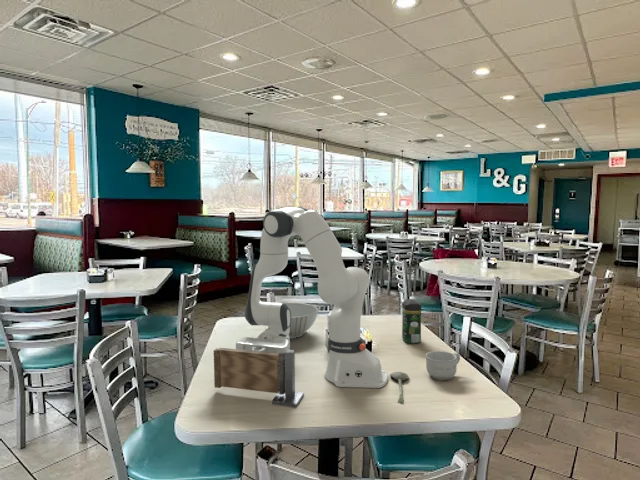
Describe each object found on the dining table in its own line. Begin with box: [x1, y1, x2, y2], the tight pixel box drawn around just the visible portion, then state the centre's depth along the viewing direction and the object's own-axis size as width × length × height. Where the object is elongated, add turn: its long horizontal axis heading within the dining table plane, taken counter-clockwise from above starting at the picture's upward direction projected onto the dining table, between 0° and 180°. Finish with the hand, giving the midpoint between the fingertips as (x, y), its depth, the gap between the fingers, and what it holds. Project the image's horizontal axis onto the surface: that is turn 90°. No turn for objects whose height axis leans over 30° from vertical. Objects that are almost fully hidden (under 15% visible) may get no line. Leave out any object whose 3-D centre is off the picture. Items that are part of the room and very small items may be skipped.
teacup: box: [425, 350, 461, 381], centre depth 149 cm, size 14×11×8 cm
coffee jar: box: [401, 298, 422, 345], centre depth 187 cm, size 10×8×19 cm
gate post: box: [271, 349, 305, 408], centre depth 131 cm, size 8×8×16 cm
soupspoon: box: [389, 371, 409, 403], centre depth 141 cm, size 22×3×7 cm
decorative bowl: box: [267, 302, 319, 339], centre depth 196 cm, size 27×27×12 cm
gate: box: [213, 347, 285, 394], centre depth 135 cm, size 24×2×13 cm, turn 76°
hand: (254, 354), depth 149 cm, fingers closed
